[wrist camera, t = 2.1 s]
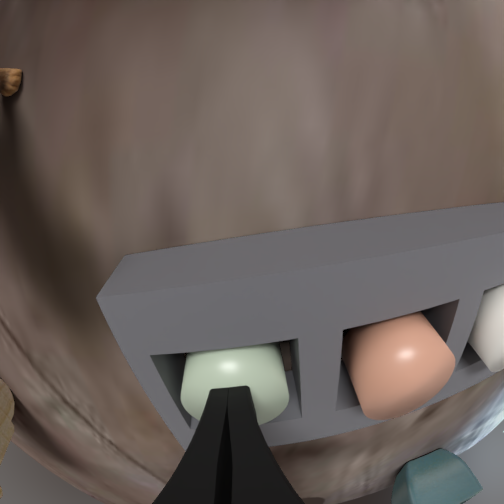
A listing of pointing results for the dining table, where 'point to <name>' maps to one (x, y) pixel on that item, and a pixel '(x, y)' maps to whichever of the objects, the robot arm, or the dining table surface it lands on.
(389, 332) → the terracotta button
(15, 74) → the lion figurine
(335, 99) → the dining table surface
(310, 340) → the button panel
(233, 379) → the sage button
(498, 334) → the cream button
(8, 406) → the toy train
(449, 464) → the flower pot
